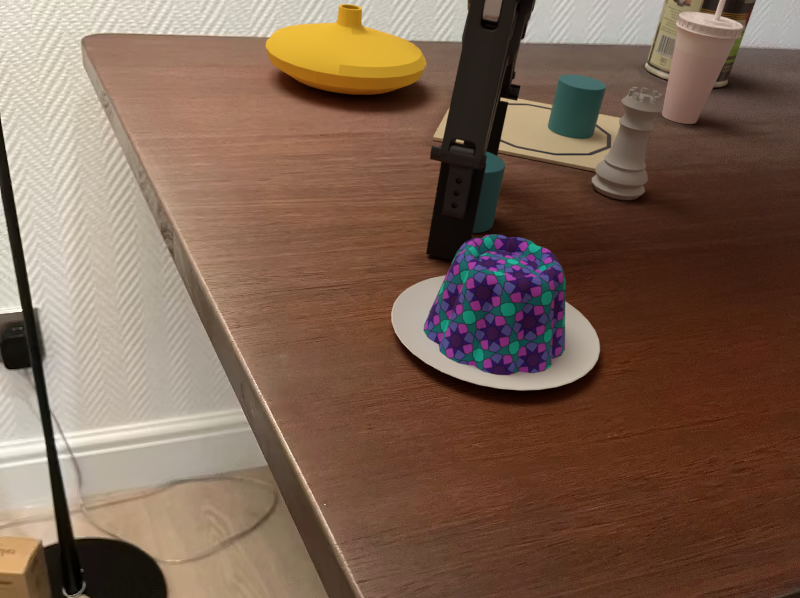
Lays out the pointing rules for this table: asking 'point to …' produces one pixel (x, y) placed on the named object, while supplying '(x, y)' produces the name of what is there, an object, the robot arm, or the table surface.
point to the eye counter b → (576, 106)
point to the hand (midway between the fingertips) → (461, 216)
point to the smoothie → (697, 62)
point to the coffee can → (663, 43)
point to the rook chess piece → (629, 148)
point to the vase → (345, 55)
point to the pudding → (498, 318)
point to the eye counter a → (489, 193)
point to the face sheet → (548, 137)
